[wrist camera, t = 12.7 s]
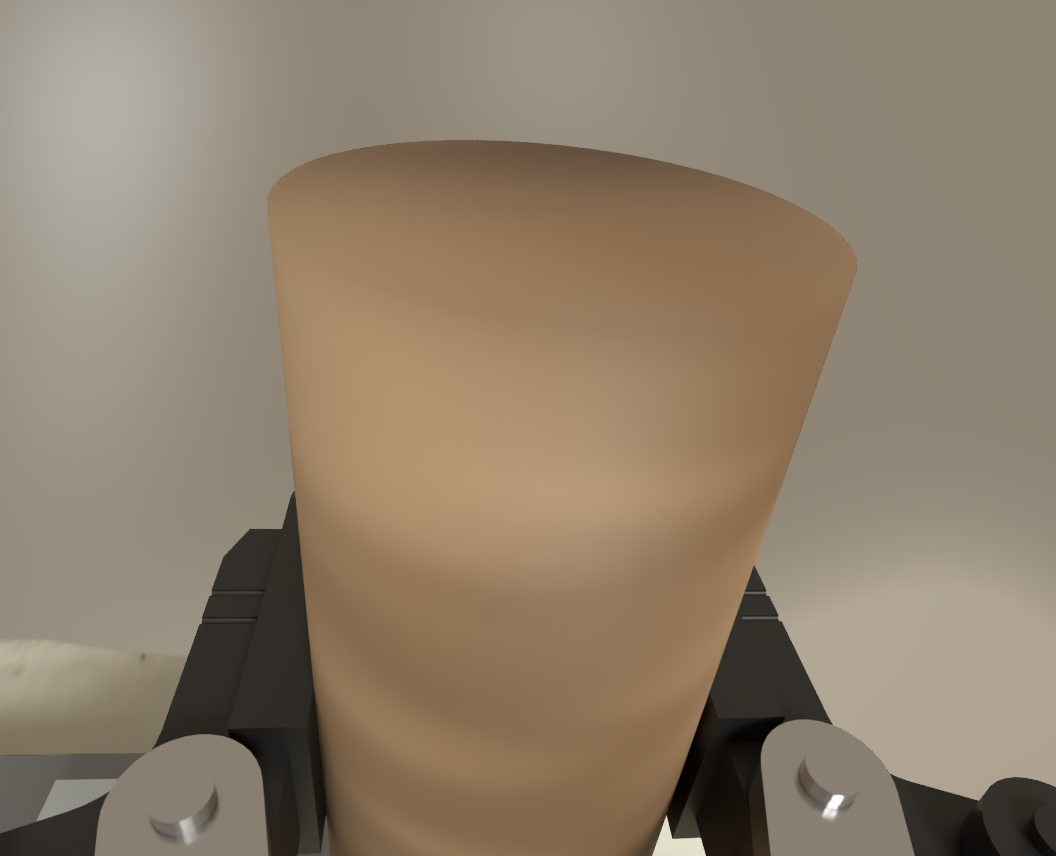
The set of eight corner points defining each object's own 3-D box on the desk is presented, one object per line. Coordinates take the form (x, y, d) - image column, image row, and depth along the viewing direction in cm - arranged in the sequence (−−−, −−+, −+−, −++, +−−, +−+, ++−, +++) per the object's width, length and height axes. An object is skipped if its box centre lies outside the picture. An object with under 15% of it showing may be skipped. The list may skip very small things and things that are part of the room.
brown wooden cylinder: (334, 1189, 11) (187, 307, 3) (359, 896, 14) (314, 126, 7) (600, 1160, 11) (993, 345, 4) (564, 885, 15) (737, 158, 7)
